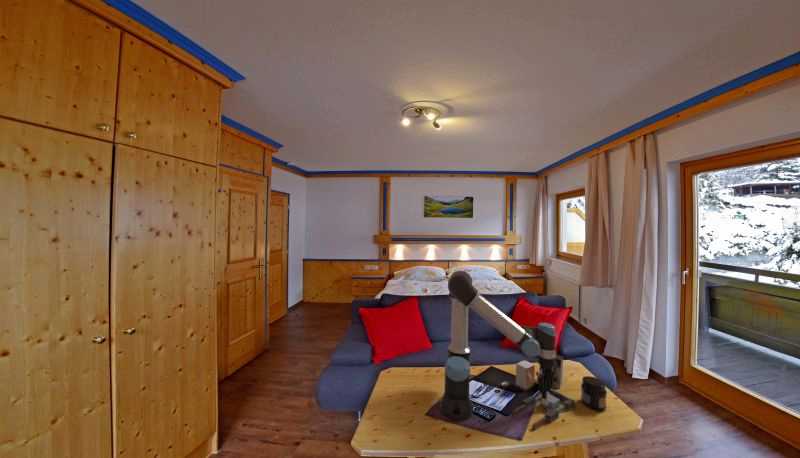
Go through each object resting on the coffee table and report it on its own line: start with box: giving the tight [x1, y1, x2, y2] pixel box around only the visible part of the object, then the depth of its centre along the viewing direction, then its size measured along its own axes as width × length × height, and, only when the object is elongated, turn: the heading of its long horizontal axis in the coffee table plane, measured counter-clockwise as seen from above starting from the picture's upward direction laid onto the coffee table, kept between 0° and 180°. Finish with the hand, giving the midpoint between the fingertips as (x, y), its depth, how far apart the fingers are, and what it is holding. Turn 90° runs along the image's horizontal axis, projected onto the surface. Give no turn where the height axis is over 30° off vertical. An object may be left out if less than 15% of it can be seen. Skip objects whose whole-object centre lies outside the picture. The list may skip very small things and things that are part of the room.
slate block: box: [540, 394, 561, 412], centre depth 137 cm, size 6×6×4 cm
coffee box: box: [552, 354, 564, 390], centre depth 157 cm, size 9×6×16 cm
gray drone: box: [511, 388, 576, 431], centre depth 134 cm, size 14×32×3 cm, turn 123°
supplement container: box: [580, 375, 608, 411], centre depth 139 cm, size 10×10×12 cm
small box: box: [515, 360, 536, 389], centre depth 153 cm, size 8×6×13 cm
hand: (545, 403), depth 135 cm, fingers closed
